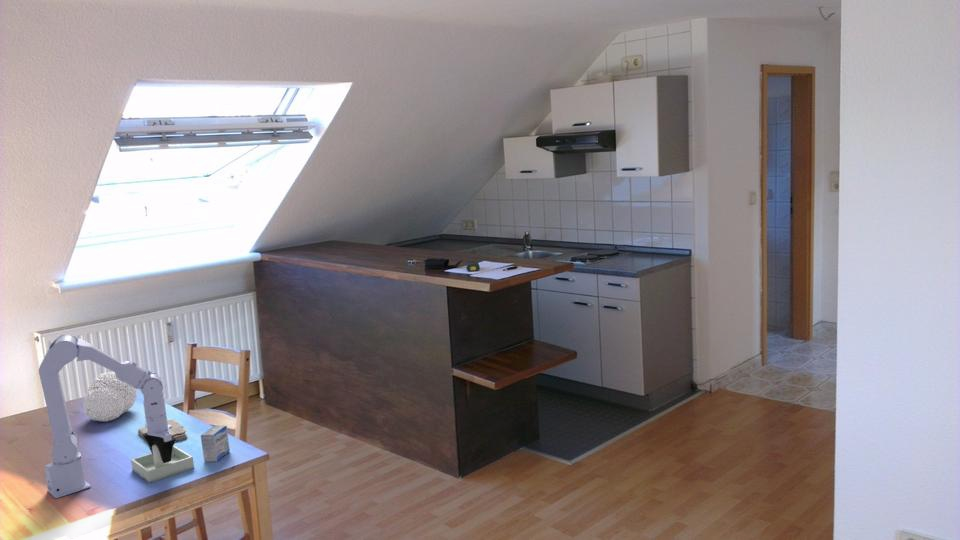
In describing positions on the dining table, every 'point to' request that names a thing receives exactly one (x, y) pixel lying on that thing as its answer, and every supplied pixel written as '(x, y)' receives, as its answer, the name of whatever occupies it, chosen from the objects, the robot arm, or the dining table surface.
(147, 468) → the tote
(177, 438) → the washcloth
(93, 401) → the cauliflower
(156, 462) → the white capsule cylinder
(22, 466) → the dining table surface
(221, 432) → the medicine box
